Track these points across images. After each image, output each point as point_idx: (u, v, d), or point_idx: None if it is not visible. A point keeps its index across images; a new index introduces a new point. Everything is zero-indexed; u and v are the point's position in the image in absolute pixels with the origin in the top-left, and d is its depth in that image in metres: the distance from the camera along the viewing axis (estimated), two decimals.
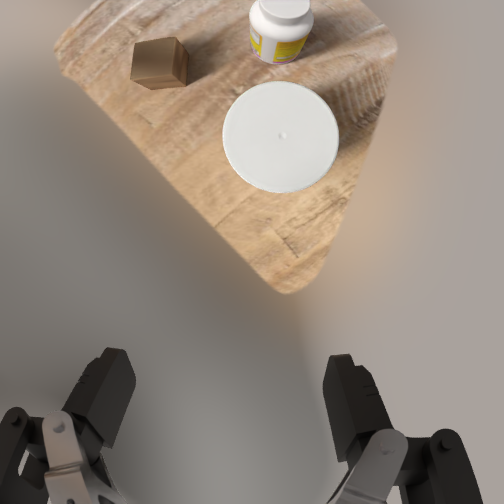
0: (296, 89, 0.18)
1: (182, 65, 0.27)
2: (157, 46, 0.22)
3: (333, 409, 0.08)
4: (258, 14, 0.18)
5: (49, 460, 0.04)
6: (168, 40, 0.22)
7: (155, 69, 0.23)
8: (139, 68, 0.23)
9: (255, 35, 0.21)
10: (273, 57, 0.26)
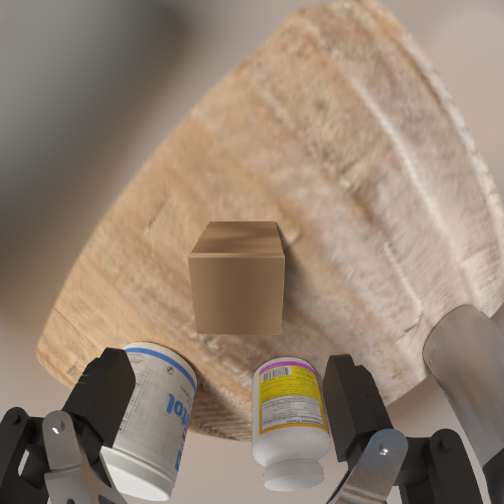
0: (163, 496, 0.13)
1: None
2: (262, 307, 0.15)
3: (333, 409, 0.08)
4: (286, 449, 0.16)
5: (49, 460, 0.04)
6: (273, 324, 0.15)
7: (208, 307, 0.15)
8: (213, 275, 0.14)
9: (267, 418, 0.19)
10: None
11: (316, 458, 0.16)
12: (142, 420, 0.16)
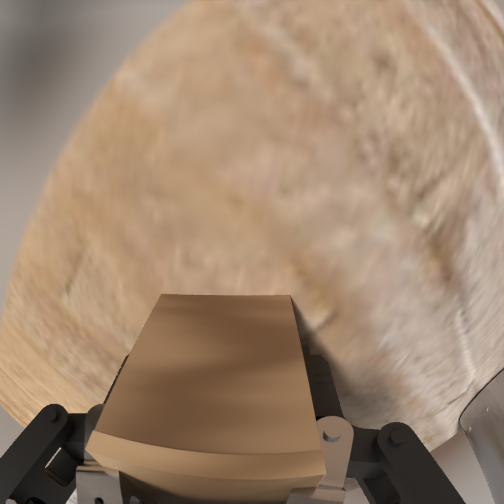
0: None
1: None
2: None
3: None
4: None
5: (85, 453, 0.04)
6: None
7: (157, 497, 0.05)
8: (151, 480, 0.04)
9: None
10: None
11: None
12: None
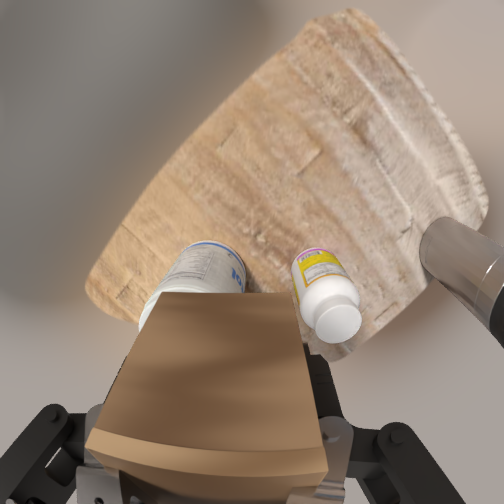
0: None
1: None
2: None
3: None
4: (329, 291, 0.25)
5: (85, 453, 0.04)
6: None
7: (157, 496, 0.05)
8: (151, 478, 0.04)
9: (310, 276, 0.28)
10: (293, 278, 0.33)
11: None
12: (216, 275, 0.26)
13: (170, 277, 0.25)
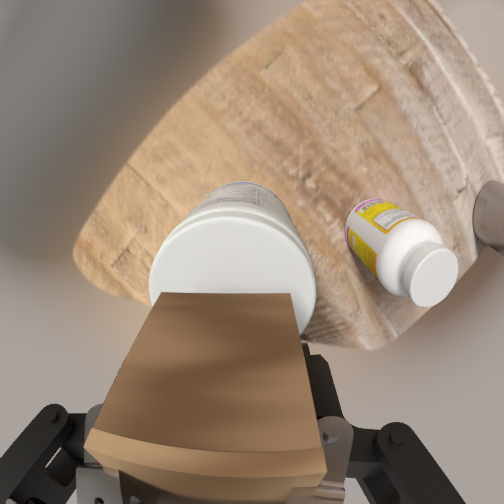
0: (303, 316, 0.14)
1: None
2: None
3: None
4: (419, 236, 0.17)
5: (85, 453, 0.04)
6: None
7: (157, 496, 0.05)
8: (150, 479, 0.04)
9: (387, 221, 0.20)
10: (354, 232, 0.24)
11: None
12: (273, 206, 0.17)
13: (204, 205, 0.16)
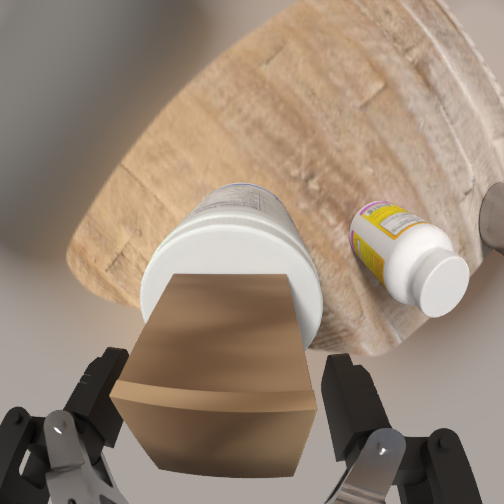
0: (308, 332, 0.13)
1: None
2: (265, 459, 0.06)
3: (331, 408, 0.08)
4: (429, 243, 0.16)
5: (50, 460, 0.04)
6: (282, 470, 0.07)
7: (167, 453, 0.06)
8: (166, 426, 0.06)
9: (395, 226, 0.18)
10: (359, 236, 0.23)
11: None
12: (275, 211, 0.16)
13: (200, 209, 0.15)
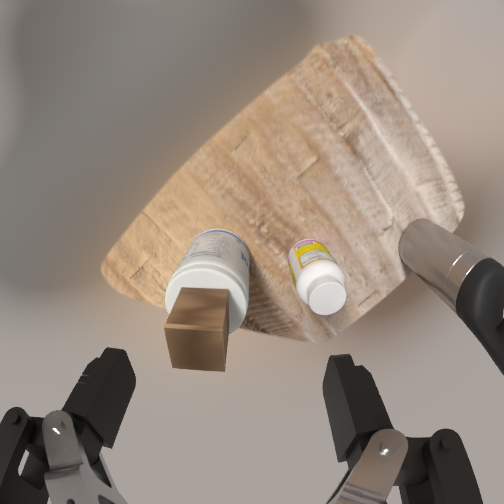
0: (241, 315, 0.29)
1: None
2: (211, 356, 0.23)
3: (333, 409, 0.08)
4: (320, 272, 0.32)
5: (49, 460, 0.04)
6: (219, 365, 0.23)
7: (178, 354, 0.23)
8: (180, 338, 0.22)
9: (305, 260, 0.35)
10: (290, 263, 0.39)
11: None
12: (230, 255, 0.32)
13: (193, 255, 0.31)
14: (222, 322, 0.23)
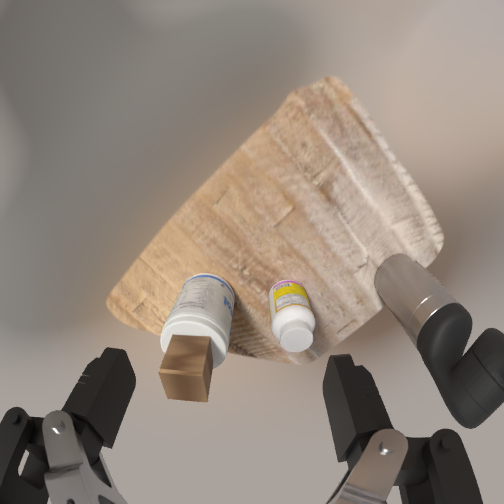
0: (222, 355, 0.34)
1: None
2: (196, 391, 0.28)
3: (333, 409, 0.08)
4: (291, 317, 0.37)
5: (49, 460, 0.04)
6: (203, 398, 0.28)
7: (170, 389, 0.28)
8: (171, 379, 0.27)
9: (279, 304, 0.40)
10: (269, 302, 0.44)
11: (308, 325, 0.37)
12: (213, 304, 0.37)
13: (181, 305, 0.36)
14: (202, 368, 0.28)
